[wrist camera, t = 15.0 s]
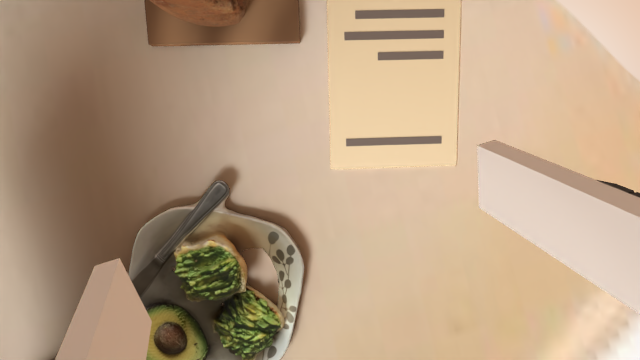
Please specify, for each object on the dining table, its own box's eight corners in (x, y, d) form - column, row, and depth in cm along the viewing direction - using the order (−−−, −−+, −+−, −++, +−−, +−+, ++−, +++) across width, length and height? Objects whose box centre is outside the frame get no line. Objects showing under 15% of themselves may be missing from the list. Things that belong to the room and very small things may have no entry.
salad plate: (140, 157, 37) (117, 163, 32) (325, 201, 38) (328, 213, 33) (106, 344, 39) (80, 373, 35) (279, 378, 41) (276, 411, 36)
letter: (330, 169, 37) (330, 169, 37) (326, -11, 35) (326, -12, 34) (455, 165, 38) (456, 165, 37) (460, -13, 35) (461, -14, 35)
